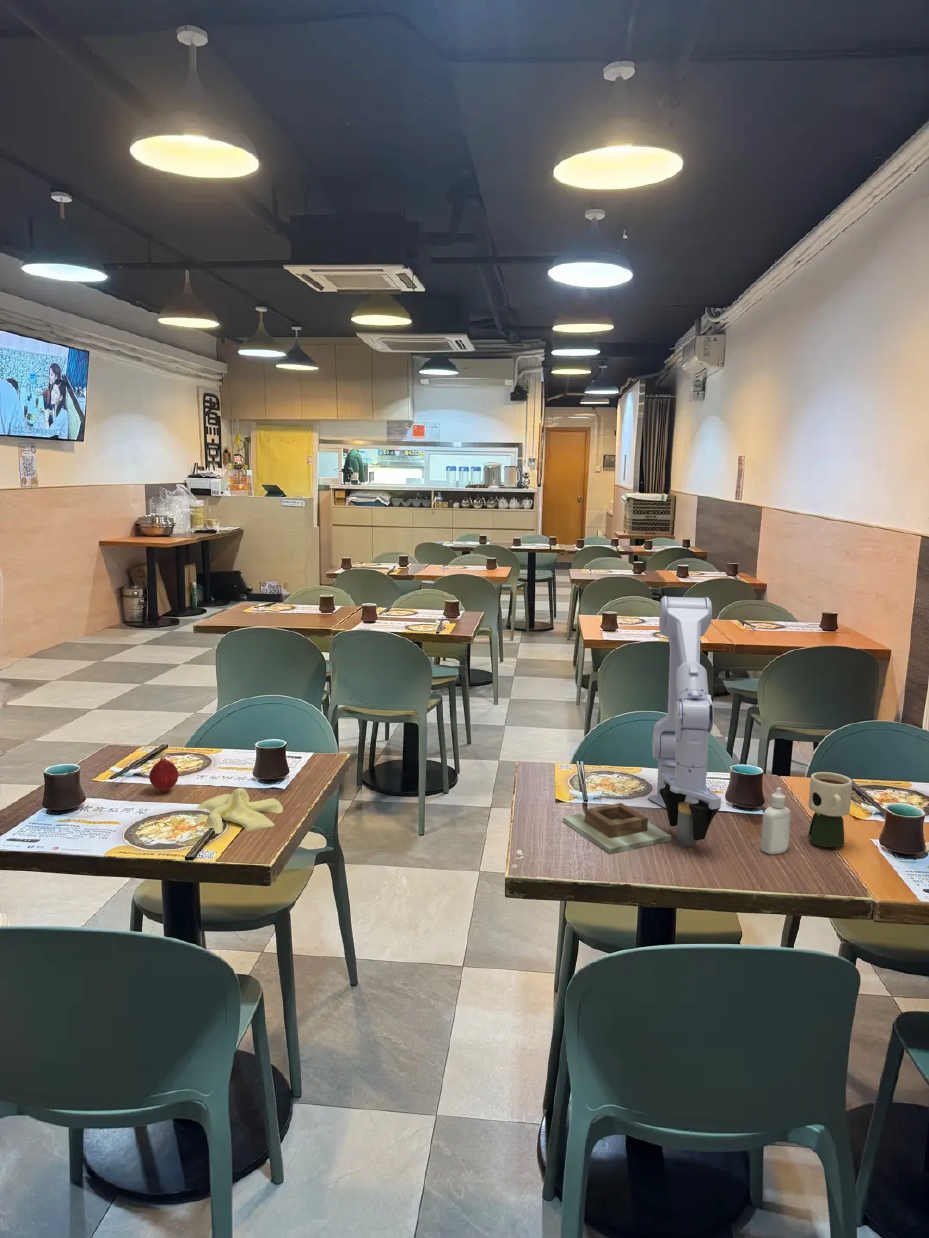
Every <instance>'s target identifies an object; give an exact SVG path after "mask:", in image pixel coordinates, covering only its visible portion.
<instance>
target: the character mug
mask: <svg viewBox="0 0 929 1238" xmlns="http://www.w3.org/2000/svg"><path fill="white" fill-rule="evenodd" d="M852 790H853V780H852V779H851V778H850V777H849V776H846V775H845V774H844V775H843V774H841V773H835V772H831V771H830V772H827V771H819V772H818V771H817V772H814V773H812V774H810V783H809V797H808V808H809V809H810V810H811V811H813V812H814V813H813V815H812V819H811V822H810V825H809V829H808V835H807V839H809V842H810V843H812V844H813V845H816V846H819V847H822V848H823V847H824V848H825V847H826V848H830V847H831V848H832V847H837V848H838V847H843V846H844V845H845V825H844V818H843V816H847V815H848V814H850V811H851V799H852V792H853V791H852Z"/></svg>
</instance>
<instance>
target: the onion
mask: <svg viewBox="0 0 929 1238" xmlns="http://www.w3.org/2000/svg"><path fill="white" fill-rule="evenodd" d="M159 759H160V760H159V761H158V762H156V763H155V764H154V765H153V766H152V768H151V770H150V772H149V777H148V778H149V783H150V784H151V785H152V787H153V788H155V789H156V790H158V791H159V792H161V793H163V792H165V793H168V792H169V790H170V789H172V788H173V787H174V786H175V785H176V784H177V782H178V779H179V771H178V768H177V766H176V765H175V764H174V763H173V762H171V761H169V760H167V759H166V757H165V756H163V755H161V756H160V758H159Z"/></svg>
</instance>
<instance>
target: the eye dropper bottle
mask: <svg viewBox="0 0 929 1238" xmlns="http://www.w3.org/2000/svg"><path fill="white" fill-rule="evenodd" d="M762 814H763V815H762V824H761V835H760V836H761V838H760V851H761V852H762V853H765V854H767V855H780V854H783V853H784V852H786V851H787V850H788V849H789V842H790V841H789V840H790V828H791V827H790V826H791V810H790V809H789V808H788V807H786V795H784V794H783V792H782V788H781V787H776V790H775V792H773V793H771V794H770V805H769V806H768V807H767V808H766V809H765V810H764V811H763V813H762Z"/></svg>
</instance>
